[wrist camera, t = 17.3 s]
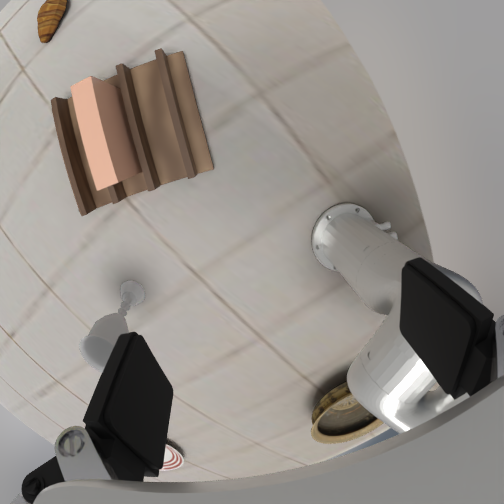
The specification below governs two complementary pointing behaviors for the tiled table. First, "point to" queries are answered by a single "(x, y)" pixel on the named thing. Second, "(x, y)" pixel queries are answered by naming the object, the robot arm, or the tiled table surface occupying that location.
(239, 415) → the tiled table surface
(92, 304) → the tiled table surface
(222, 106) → the tiled table surface
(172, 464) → the dinner plate
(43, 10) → the croissant
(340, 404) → the ceramic bowl
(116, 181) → the pink rectangular block
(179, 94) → the slot rack
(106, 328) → the chalice
